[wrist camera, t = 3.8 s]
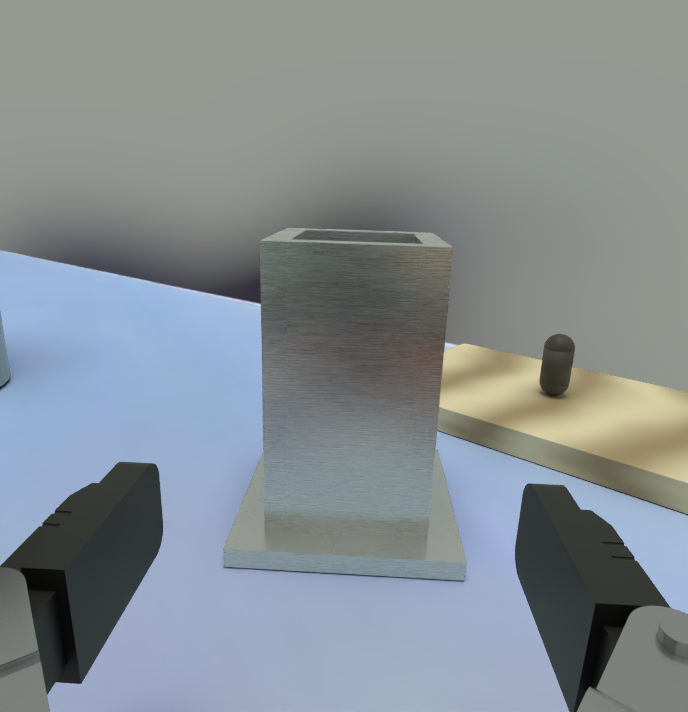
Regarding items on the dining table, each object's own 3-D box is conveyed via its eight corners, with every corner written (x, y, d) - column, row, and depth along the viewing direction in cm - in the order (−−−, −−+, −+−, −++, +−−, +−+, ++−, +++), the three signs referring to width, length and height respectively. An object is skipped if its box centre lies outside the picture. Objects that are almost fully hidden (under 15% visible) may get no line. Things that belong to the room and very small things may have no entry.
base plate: (361, 404, 36) (365, 324, 35) (462, 360, 46) (468, 296, 45) (716, 524, 24) (747, 409, 22) (745, 427, 34) (767, 344, 33)
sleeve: (224, 566, 20) (210, 243, 17) (267, 455, 29) (264, 225, 25) (464, 580, 20) (502, 253, 17) (436, 463, 29) (457, 231, 25)
